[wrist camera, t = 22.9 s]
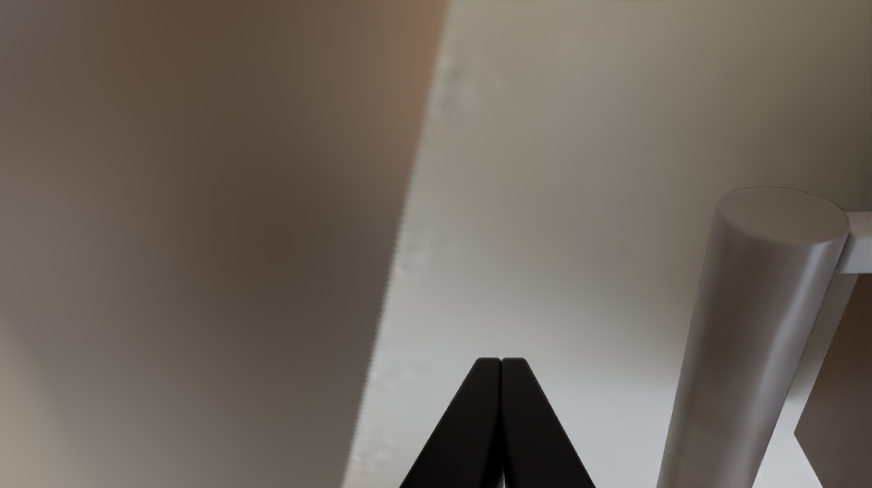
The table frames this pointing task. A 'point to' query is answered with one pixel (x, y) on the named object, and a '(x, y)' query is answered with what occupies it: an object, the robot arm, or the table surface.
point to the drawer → (774, 343)
